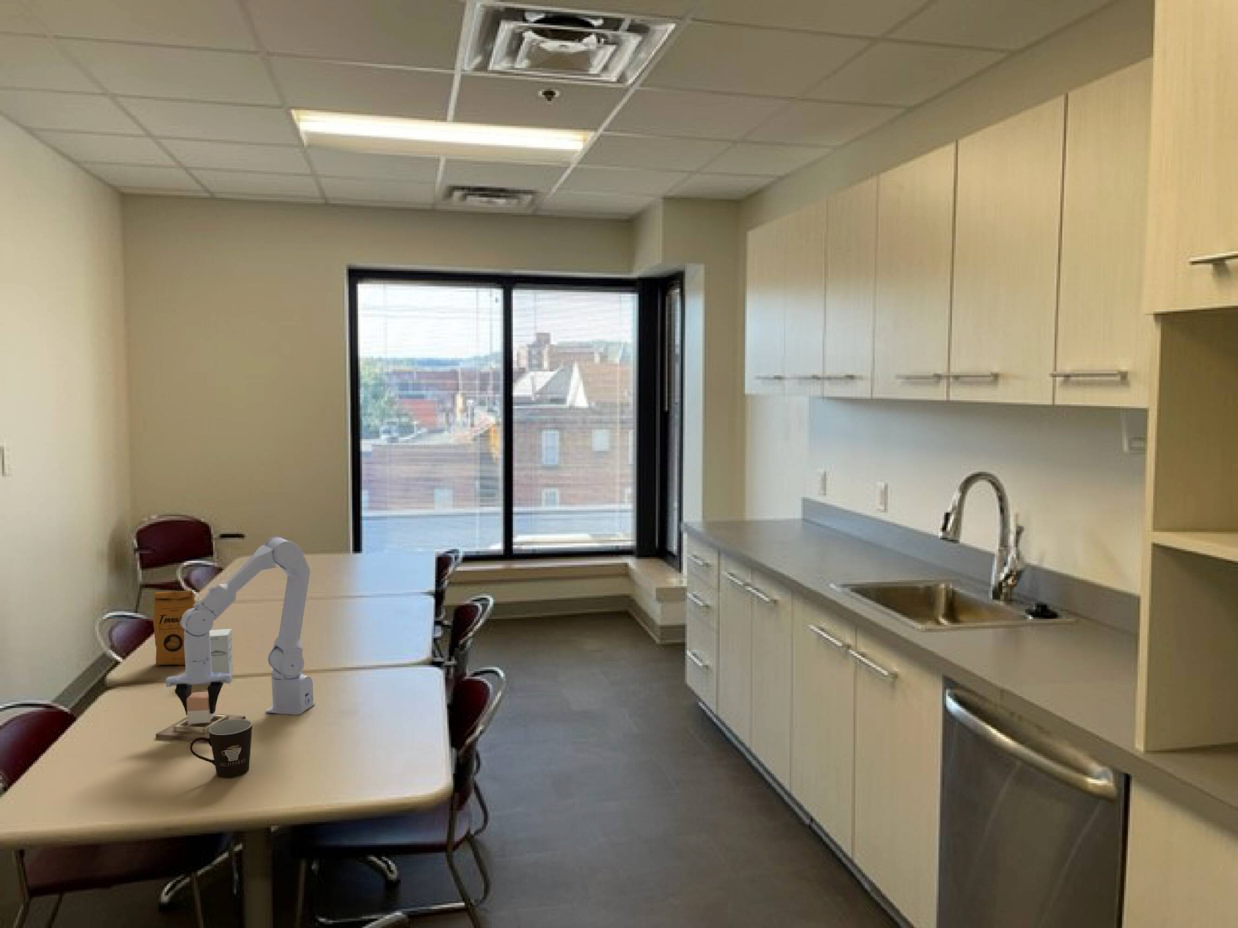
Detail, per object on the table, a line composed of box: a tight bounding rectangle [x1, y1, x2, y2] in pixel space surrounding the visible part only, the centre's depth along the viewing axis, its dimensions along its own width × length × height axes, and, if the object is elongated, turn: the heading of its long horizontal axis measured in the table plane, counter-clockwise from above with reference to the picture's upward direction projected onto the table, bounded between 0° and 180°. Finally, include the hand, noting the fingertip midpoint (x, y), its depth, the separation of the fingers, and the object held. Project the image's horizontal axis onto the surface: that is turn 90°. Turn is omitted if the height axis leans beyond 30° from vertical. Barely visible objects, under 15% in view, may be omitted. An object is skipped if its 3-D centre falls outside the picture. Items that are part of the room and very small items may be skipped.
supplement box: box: [210, 628, 234, 674], centre depth 250 cm, size 7×7×13 cm
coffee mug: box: [189, 719, 253, 779], centre depth 187 cm, size 12×9×10 cm
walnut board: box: [155, 713, 247, 743], centre depth 211 cm, size 14×14×2 cm
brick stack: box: [186, 691, 216, 724], centre depth 211 cm, size 5×5×6 cm
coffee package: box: [152, 590, 196, 666], centre depth 261 cm, size 10×12×22 cm
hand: (201, 713), depth 210 cm, fingers closed on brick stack, 5 cm apart
